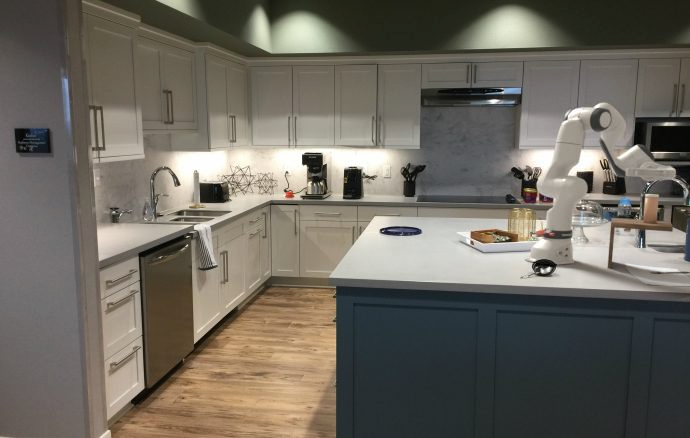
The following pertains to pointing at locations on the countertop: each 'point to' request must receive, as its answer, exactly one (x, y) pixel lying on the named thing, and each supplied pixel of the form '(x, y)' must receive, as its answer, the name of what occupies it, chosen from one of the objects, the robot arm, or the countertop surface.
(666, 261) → the countertop surface
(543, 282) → the countertop surface
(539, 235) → the cupcake
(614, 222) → the shelf
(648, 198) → the jar
